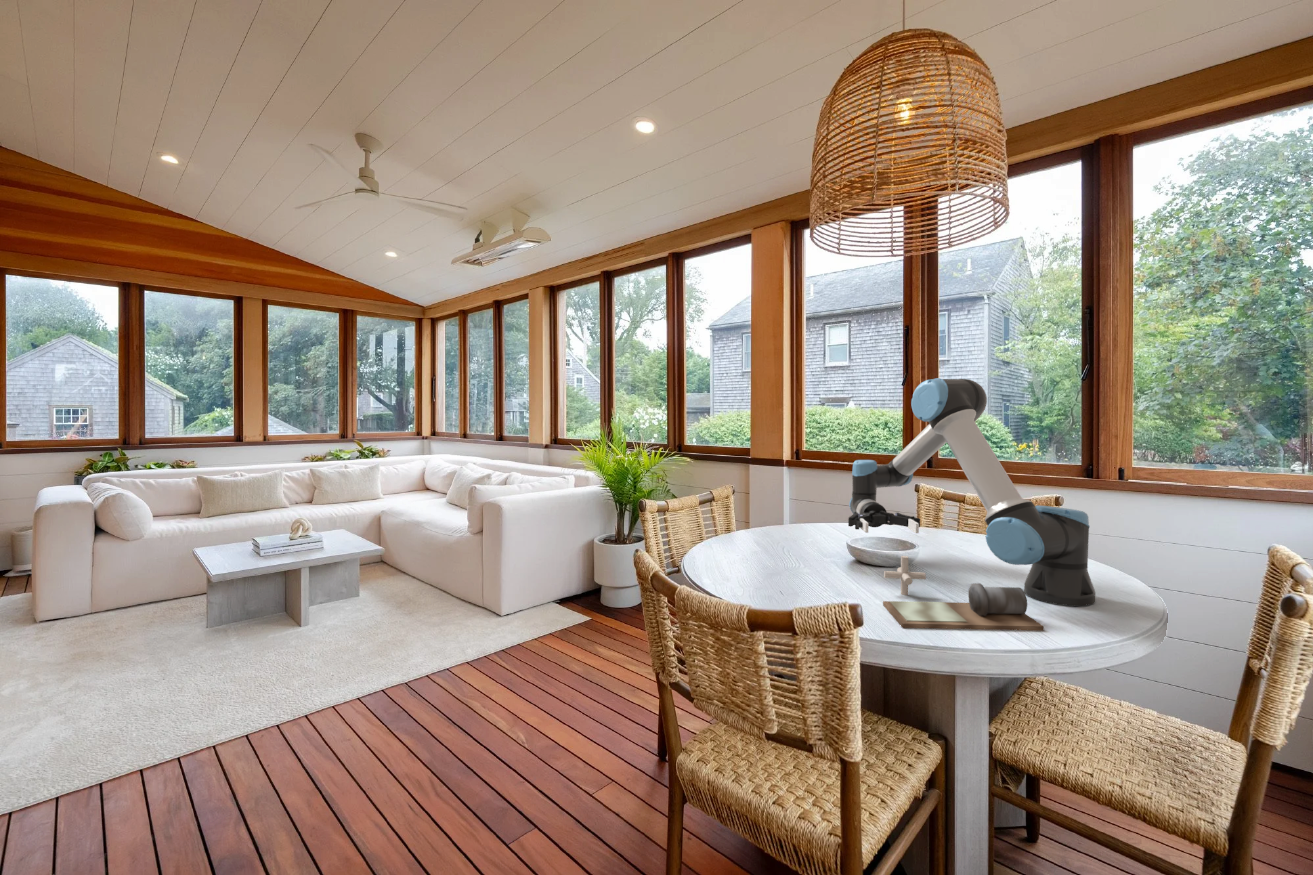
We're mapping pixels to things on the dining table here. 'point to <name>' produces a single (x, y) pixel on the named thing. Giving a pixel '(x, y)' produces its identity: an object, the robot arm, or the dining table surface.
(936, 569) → the dining table surface
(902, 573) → the pipe connector
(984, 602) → the fitting board
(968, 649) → the dining table surface
